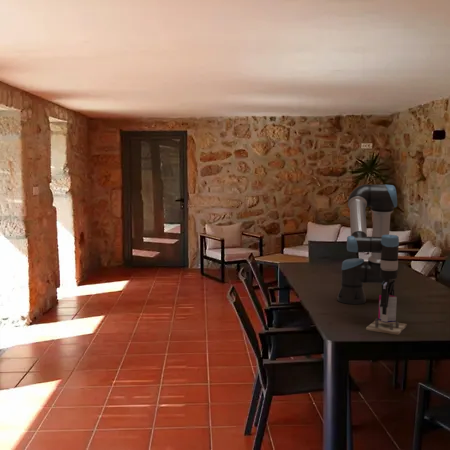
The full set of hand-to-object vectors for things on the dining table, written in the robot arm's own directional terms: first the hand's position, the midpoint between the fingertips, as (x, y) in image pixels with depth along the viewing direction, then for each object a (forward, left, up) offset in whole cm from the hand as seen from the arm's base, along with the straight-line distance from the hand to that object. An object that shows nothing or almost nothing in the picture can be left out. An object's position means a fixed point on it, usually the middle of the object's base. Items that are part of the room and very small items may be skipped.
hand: (387, 319), depth 243 cm
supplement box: (0, 0, -1) cm, 1 cm away
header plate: (0, 0, -4) cm, 4 cm away
